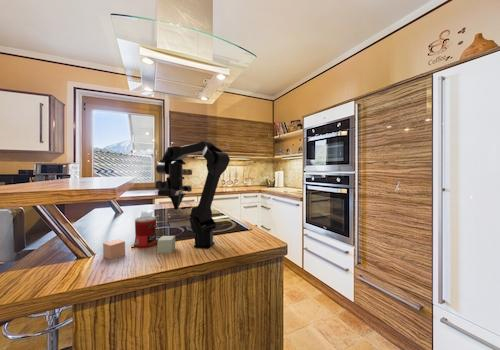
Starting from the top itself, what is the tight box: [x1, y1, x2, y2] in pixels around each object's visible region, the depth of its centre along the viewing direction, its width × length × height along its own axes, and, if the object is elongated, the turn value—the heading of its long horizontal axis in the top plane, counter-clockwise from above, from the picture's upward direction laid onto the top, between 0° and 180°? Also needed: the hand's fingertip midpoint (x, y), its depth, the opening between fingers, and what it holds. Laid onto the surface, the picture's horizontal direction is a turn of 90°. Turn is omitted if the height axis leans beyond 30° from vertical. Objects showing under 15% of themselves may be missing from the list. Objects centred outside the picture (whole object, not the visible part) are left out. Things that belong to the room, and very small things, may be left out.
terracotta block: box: [102, 238, 126, 261], centre depth 79 cm, size 5×5×5 cm
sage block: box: [157, 235, 176, 254], centre depth 83 cm, size 5×5×5 cm
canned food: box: [134, 215, 157, 249], centre depth 90 cm, size 8×8×11 cm
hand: (176, 209), depth 97 cm, fingers closed
